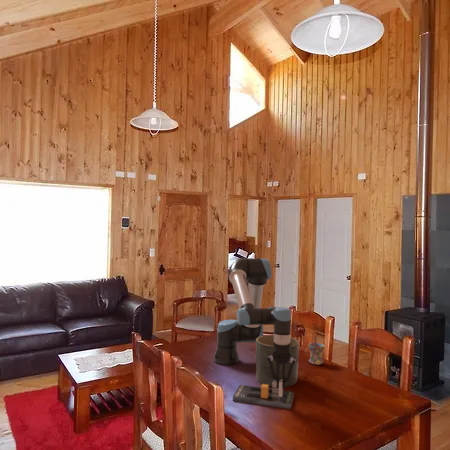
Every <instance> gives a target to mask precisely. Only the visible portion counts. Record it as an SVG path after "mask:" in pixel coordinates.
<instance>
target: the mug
mask: <svg viewBox="0 0 450 450" xmlns="http://www.w3.org/2000/svg"><path fill="white" fill-rule="evenodd" d="M324 349H325V344H323V343H318V342H310V343H308V347H306V348H305V349H304V351H305V352H304V353H305V354H306V355H307V356H308V357H309V359H308V362H309V363H310V364H312V365H318V366H319V365H323V364H324V360H323V353H324ZM307 350H309V351H310V355H309V354H308V353H307Z"/></svg>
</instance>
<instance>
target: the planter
mask: <svg viewBox="0 0 450 450" xmlns="http://www.w3.org/2000/svg"><path fill="white" fill-rule="evenodd" d="M273 343H274V334H267V335H266V334H264V335H263V336H260V337H258V338H257V339H256V342H255V379H256V380H257V381H258V382H259V383H261V385H262V384H266V385H269V387H272V382H273V380H275V379H273V378H272V373H271V369H270V364H269V362H268V360H267V358H268V356H271V355H272V354H273ZM299 344H300V342H299V340H298V339H296V338H294V337H292V336H291V338H290V354H291V357H292V358H293V359H296V362H295V364H294V365H293V368H292V372H291V375H290V379H289V381H286V382H285V388H287V387H291V386H294V385H295V384H296V383H298V382H297V381H298V370H299V352H300V351H299V349H300V348H299V347H300V345H299ZM273 365H274V369H275V374H276V376H277V363H276V361H275V360H274V358H273ZM290 365H291V363H290V360H289V361H288V362H287V363H286V377H287V375H288V372H289V368H290ZM282 371H283V367H282V364H280V380H282Z"/></svg>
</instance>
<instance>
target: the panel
mask: <svg viewBox="0 0 450 450" xmlns="http://www.w3.org/2000/svg"><path fill="white" fill-rule="evenodd" d="M276 385H277V381H276V380H273V382H272V386H271V387H272V388H269V396H268V399H267V398H261V386H260V387H259V386H258V387H257V386H253V385H252V386H251V385H245V384H244V385H243V384H239V385H238V387H237V389H236V391H235V392H234V394H233V395H232V401H233V402H239V403H246V404H252V405H259V406H267V407H272V408H279V409H280V408H281V409H289V410H291V408H292V404H293V401H294V397H295V396H294V394H295V393H294V391H289V390H283V395H282V397H279V388H277V387H276Z"/></svg>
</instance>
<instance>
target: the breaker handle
mask: <svg viewBox="0 0 450 450" xmlns="http://www.w3.org/2000/svg"><path fill="white" fill-rule="evenodd" d="M260 387H261V398H267V399H268V396H269V389H270V386H269V385H266V384H262V383H261V385H260Z"/></svg>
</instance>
